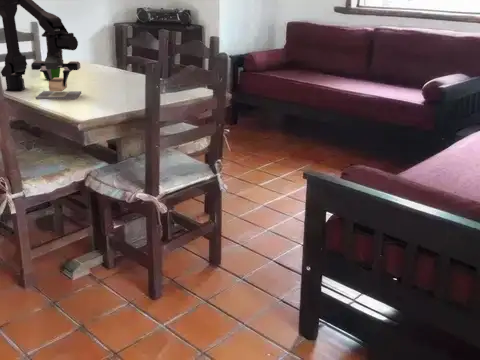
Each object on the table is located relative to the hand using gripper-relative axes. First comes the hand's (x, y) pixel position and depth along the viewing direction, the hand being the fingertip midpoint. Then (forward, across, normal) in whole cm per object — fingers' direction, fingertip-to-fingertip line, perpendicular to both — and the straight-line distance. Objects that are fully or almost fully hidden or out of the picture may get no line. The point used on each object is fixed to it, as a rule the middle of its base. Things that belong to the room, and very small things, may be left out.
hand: (58, 86), depth 230 cm
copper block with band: (+1, 0, 0) cm, 1 cm away
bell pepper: (+4, -12, +36) cm, 38 cm away
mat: (+4, 0, 0) cm, 4 cm away
